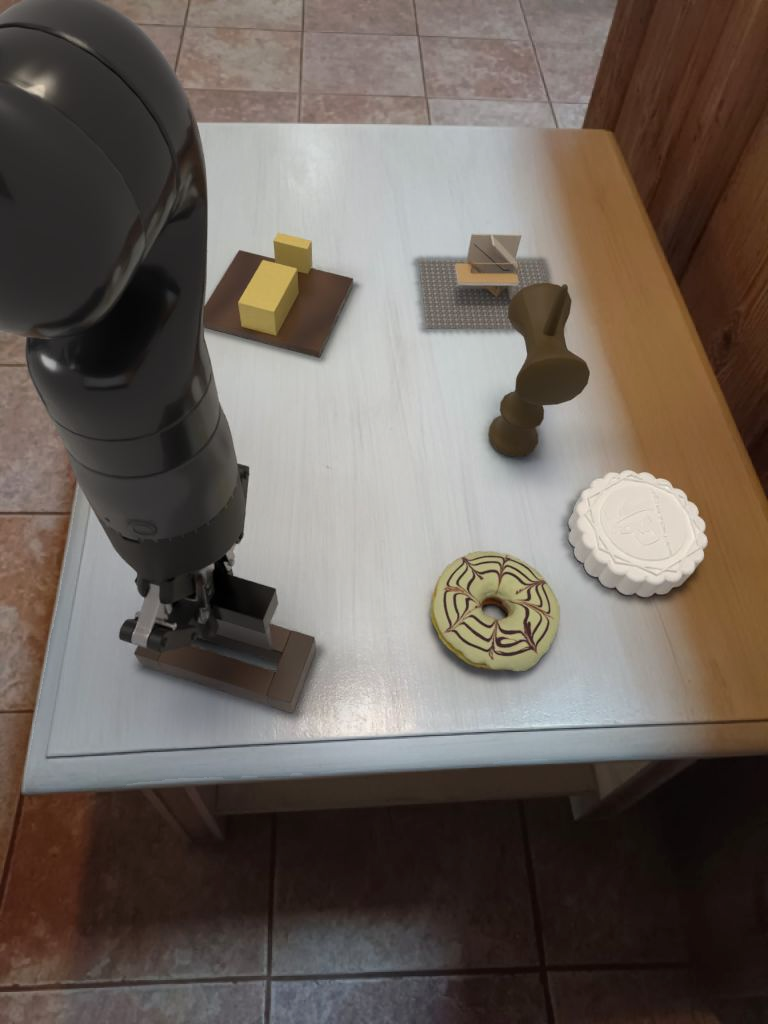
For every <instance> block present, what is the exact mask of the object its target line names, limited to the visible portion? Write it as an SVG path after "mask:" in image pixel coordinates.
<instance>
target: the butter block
mask: <svg viewBox="0 0 768 1024" xmlns="http://www.w3.org/2000/svg"><path fill="white" fill-rule="evenodd" d="M298 294H299V291H298V273H297V268H293V267H289V266H285V265H281V264H277V263H273V262H269V261H265V260H262V262H261V264H260V266H259V267H258V269H257V271H256V272H255V274H254V276H253V278H252V279H251V281H250V283H249V284H248V286H247V288H246V290H245V291H244V293H243V295H242V296H241V298H240V300H239V302H238V305H239V312H240V319H241V325H242V327H244V328H248V329H252V330H256V331H259V332H263V333H267V334H271V335H275V336H277V334H278V332H279V330H280V328H281V326H282V324H283V322H284V320H285V318H286V317H287V315H288V313H289V311H290V309H291V307H292V305H293V303H294V301H295V299H296V297H297V295H298Z"/></svg>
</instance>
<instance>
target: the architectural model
mask: <svg viewBox="0 0 768 1024" xmlns="http://www.w3.org/2000/svg"><path fill="white" fill-rule="evenodd" d="M470 234H471V235H470V240H469V245H468V249H467V256H466V260H452V259H451V260H450V259H449V260H444V259H443V260H442V259H440V260H437V259H434V260H433V259H419V260H418V267H419V274H420V275H419V276H420V283H421V292H422V300H423V309H424V316H425V317H424V318H425V325H426V329H465V330H466V329H468V330H469V329H470V330H471V329H472V330H473V329H476V330H477V329H478V330H479V329H480V330H482V329H487V330H489V329H490V330H491V329H495V330H496V329H497V330H499V329H503V330H504V329H505V330H507V329H512V330H513V329H514V328H513V326H512V325H511V323H510V321H509V319H508V307H509V304H510V302H511V300H512V298H513V296H514V295H515V294H517V293H518V292H519V291H520V290H521V289H522V288H525V287H527V286H530V285H532V284H539V283H547V279H546V275H545V271H544V267H543V262H542V261H539V260H538V261H537V260H536V261H535V260H527V261H526V260H516V259H517V254H518V251H519V247H520V243H521V239H522V233H470ZM514 330H515V329H514Z"/></svg>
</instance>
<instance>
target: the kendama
mask: <svg viewBox="0 0 768 1024" xmlns="http://www.w3.org/2000/svg"><path fill="white" fill-rule="evenodd" d="M571 309H572V298H571V296H570V293H569V287H568V285H567V284H566V283H563V284H562V285H559V284H555V283H551V282H546V283H539V284H532V285H530V286H527V287H525V288H522V289H521V290H520V291H519V292H518V293H517V294H515V295H514V296H513V298H512V300H511V302H510V304H509V307H508V319H509V321H510V323H511V325H512V326H513V328H514V330H515V331H516V332H517V333H519V335H520V336H522V337H523V340H524V344H525V350H526V357H525V359H524V362H523V364H522V366H521V368H520V370H519V371H518V373H517V375H516V376H515V386H514V387H515V388H514V390H513V391H511V392H508V393H507V394H504V395H503V397H502V398H501V401H500V404H499V412H500V415H499V416H497V417H495V418H493V419H492V421H491V423H490V425H489V428H488V438H489V441H490V444H491V445H492V447H493V448H494V449H495V451H497V452H499V453H501V454H502V455H505V456H509V457H515V458H516V457H523V456H527V455H529V454H531V453H533V452H534V451H535V449H536V448H537V446H538V444H539V432H538V429H537V428H538V427H540V426H541V425H542V424H543V421H544V419H545V409H544V406H555V405H560V404H564V403H567V402H570V401H572V400H574V399H575V398H576V397H578V396H580V394H582V392H583V391H584V389H585V388H586V387H587V385H588V384H589V379H590V373H591V371H590V369H589V365H588V364H587V362H586V360H584V359H583V358H582V357H580V356H578V355H576V354H575V353H573V352H572V351H570V350H569V349H568V346H567V343H566V338H565V327H566V324H567V322H568V319H569V316H570V314H571Z"/></svg>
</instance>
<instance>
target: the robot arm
mask: <svg viewBox="0 0 768 1024" xmlns="http://www.w3.org/2000/svg"><path fill="white" fill-rule="evenodd" d="M197 121H198V120H197V119H196V116H195V112H194V110H193V107H192V105H191V102H190V101H189V97H188V96H187V93H186V90H185V89H184V86H183V84H182V82H181V80H180V78H179V77H178V75H177V73H176V71H175V70H174V68H173V67H172V65H171V63H170V62H169V60H168V59H167V57H166V56H165V55H164V53H163V52H162V50H161V49H160V48H159V46H158V45H157V44H156V42H154V40H153V39H152V38H151V37H150V36H149V35H148V34H147V33H146V32H145V31H144V30H143V29H142V28H141V27H140V25H138V24H136V22H134V20H132V19H130V18H129V17H128V16H127V15H125V14H124V13H122V12H121V11H120V10H118V9H116V8H115V7H113V6H112V5H110V4H108V3H106V2H104V1H102V0H20V1H18V2H17V3H14V4H13V5H11V6H9V7H8V8H6V9H5V10H4V11H3V12H1V13H0V332H2V333H6V334H10V335H14V336H18V337H22V338H25V342H24V343H25V344H24V359H25V364H26V368H27V371H28V375H29V378H30V380H31V383H32V386H33V388H34V390H35V392H36V394H37V396H38V398H39V400H40V402H41V404H42V406H43V407H44V409H45V411H46V413H47V415H48V416H49V419H50V420H51V422H52V424H53V426H54V428H55V430H56V431H57V433H58V435H59V437H60V439H61V441H62V443H63V446H64V447H65V450H66V453H67V457H68V462H69V464H70V467H71V470H72V472H73V475H74V478H75V479H76V481H77V483H78V484H77V485H79V487H80V489H81V491H82V493H83V494H84V497H85V499H86V500H87V502H88V504H89V505H90V507H91V510H92V512H93V513H94V515H95V517H96V518H97V521H98V522H99V524H100V525H101V527H102V529H103V531H104V533H105V535H106V537H107V539H108V540H109V543H110V544H111V546H112V547H113V549H114V550H115V552H116V553H117V554H118V555H119V557H120V558H121V559H122V560H123V561H124V562H125V563H126V564H127V565H128V566H129V567H130V568H132V570H133V571H134V572H135V573H136V577H137V585H136V588H137V591H138V592H137V593H138V594H139V595H140V596H141V597H142V598H143V601H142V602H143V603H142V606H141V609H140V611H139V610H138V611H136V612H135V614H134V618H128V619H127V618H126V620H124V622H123V623H122V625H121V627H120V629H119V632H118V639H119V640H120V641H122V642H126V643H129V644H132V645H135V646H141V647H144V648H147V649H151V650H154V651H157V652H160V653H162V652H166V651H170V650H174V649H178V648H183V647H187V646H191V645H192V646H193V644H194V643H195V641H196V640H197V639H200V638H201V639H200V640H203V639H207V637H208V636H215V635H216V632H217V630H218V628H219V625H218V622H217V620H216V618H215V615H214V612H213V609H212V608H211V606H210V600H211V598H212V596H213V594H214V593H215V589H214V584H213V578H212V572H213V570H216V571H219V572H223V573H226V574H229V575H233V576H234V571H233V567H234V565H235V559H236V556H235V555H236V554H235V551H234V550H235V548H236V545H240V543H241V542H242V540H243V539H244V535H245V533H244V532H245V523H246V515H247V502H248V501H247V500H248V490H249V482H250V481H249V479H250V466H249V465H245V464H242V463H239V462H238V460H237V454H236V449H235V444H234V440H233V435H232V431H231V427H230V424H229V421H228V418H227V415H226V414H225V412H224V409H223V407H222V405H221V402H220V398H219V394H218V388H217V384H216V378H215V375H214V370H213V365H212V360H211V356H210V353H209V348H208V345H207V342H206V338H205V327H204V306H205V305H206V293H207V283H208V278H207V277H208V227H209V200H208V199H209V198H208V197H209V196H208V178H207V166H206V158H205V154H204V147H203V142H202V137H201V133H200V129H199V125H198V122H197ZM165 604H166V608H167V611H168V613H170V614H169V615H168V614H167V613H165ZM197 637H198V638H197Z"/></svg>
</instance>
